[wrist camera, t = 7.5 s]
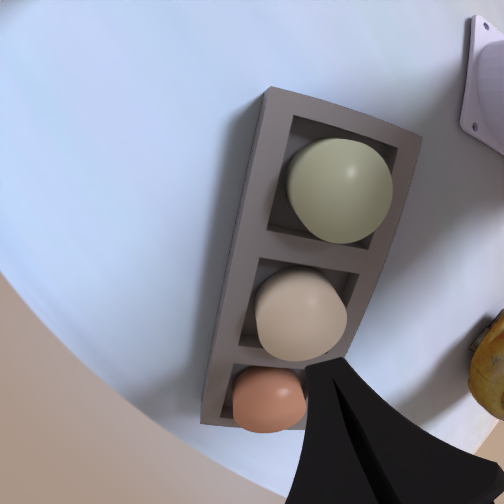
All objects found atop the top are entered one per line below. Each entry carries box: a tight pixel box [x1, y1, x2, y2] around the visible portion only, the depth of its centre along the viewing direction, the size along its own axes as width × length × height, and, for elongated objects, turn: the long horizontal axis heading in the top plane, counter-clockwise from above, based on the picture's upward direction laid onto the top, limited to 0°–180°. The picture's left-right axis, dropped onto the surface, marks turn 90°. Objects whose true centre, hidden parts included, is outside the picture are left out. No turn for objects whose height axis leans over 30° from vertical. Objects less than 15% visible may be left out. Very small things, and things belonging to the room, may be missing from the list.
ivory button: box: [254, 267, 347, 362], centre depth 14 cm, size 4×4×2 cm
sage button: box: [285, 138, 393, 244], centre depth 12 cm, size 4×4×2 cm
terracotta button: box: [232, 366, 306, 433], centre depth 17 cm, size 4×4×2 cm
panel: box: [200, 86, 422, 430], centre depth 16 cm, size 7×19×2 cm, turn 168°
